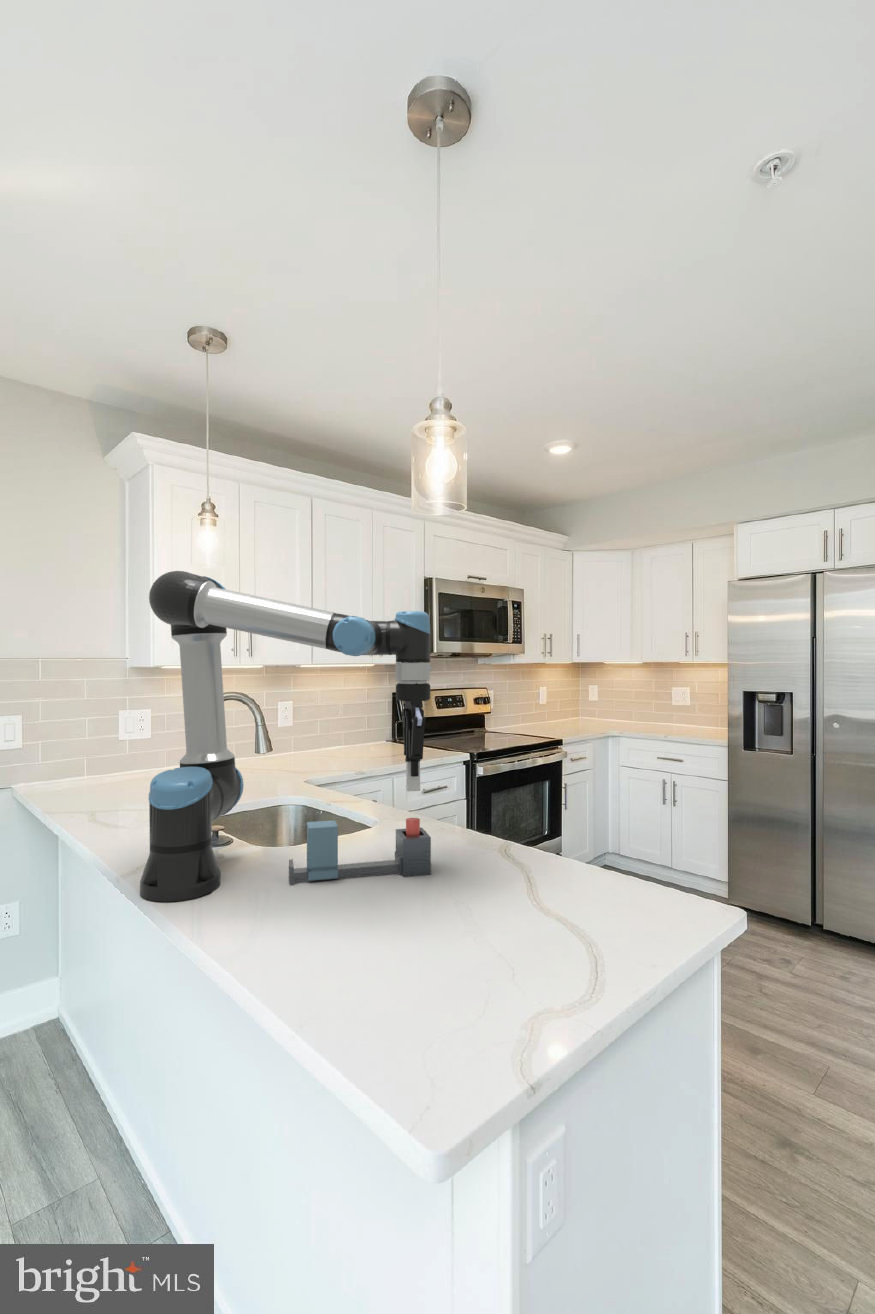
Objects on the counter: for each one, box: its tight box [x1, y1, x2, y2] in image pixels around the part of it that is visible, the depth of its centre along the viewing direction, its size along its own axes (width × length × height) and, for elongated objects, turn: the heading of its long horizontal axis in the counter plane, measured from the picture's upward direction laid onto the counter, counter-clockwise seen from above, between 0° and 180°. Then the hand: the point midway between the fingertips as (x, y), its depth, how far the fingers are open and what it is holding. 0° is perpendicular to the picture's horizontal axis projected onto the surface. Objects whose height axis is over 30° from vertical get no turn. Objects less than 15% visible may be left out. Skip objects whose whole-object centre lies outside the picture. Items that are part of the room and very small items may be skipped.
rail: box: [288, 850, 402, 886], centre depth 136 cm, size 24×5×4 cm, turn 105°
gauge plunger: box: [405, 817, 421, 836], centre depth 140 cm, size 3×3×6 cm
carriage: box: [306, 819, 339, 882], centre depth 135 cm, size 6×5×11 cm
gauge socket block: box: [395, 826, 432, 878], centre depth 140 cm, size 6×8×8 cm
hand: (413, 790), depth 140 cm, fingers closed
